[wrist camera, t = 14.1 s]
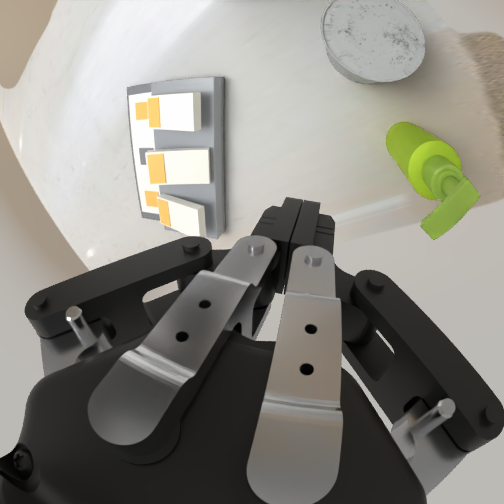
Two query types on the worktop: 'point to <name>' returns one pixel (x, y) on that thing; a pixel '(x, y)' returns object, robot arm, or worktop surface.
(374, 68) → the grey concrete cylinder
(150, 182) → the rocker middle
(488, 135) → the worktop surface
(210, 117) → the switch unit
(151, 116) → the plate
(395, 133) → the soap dispenser
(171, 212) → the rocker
